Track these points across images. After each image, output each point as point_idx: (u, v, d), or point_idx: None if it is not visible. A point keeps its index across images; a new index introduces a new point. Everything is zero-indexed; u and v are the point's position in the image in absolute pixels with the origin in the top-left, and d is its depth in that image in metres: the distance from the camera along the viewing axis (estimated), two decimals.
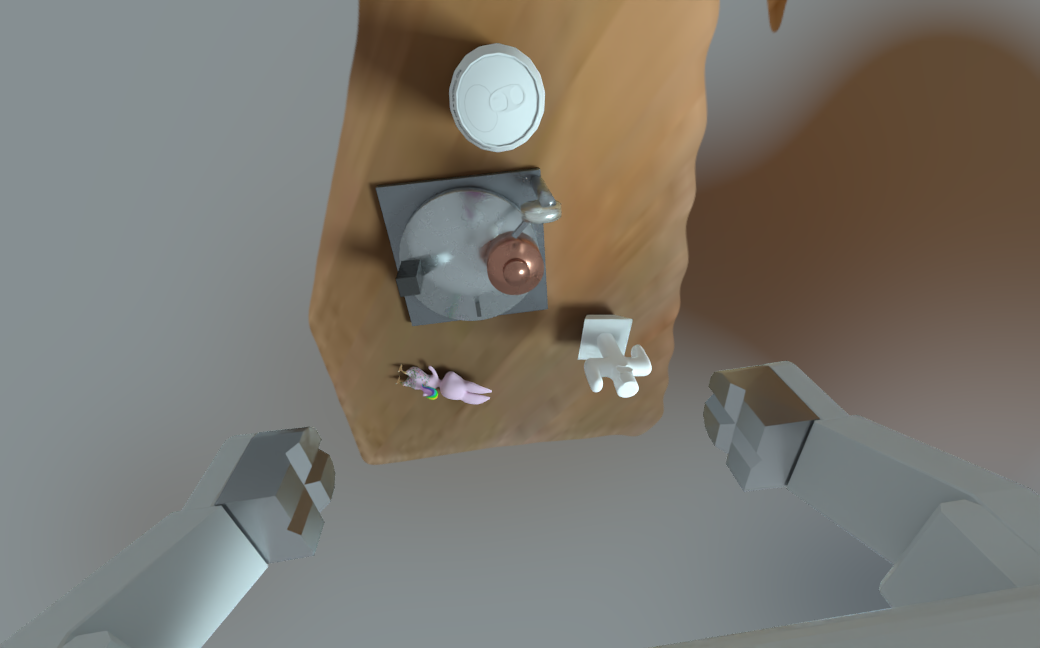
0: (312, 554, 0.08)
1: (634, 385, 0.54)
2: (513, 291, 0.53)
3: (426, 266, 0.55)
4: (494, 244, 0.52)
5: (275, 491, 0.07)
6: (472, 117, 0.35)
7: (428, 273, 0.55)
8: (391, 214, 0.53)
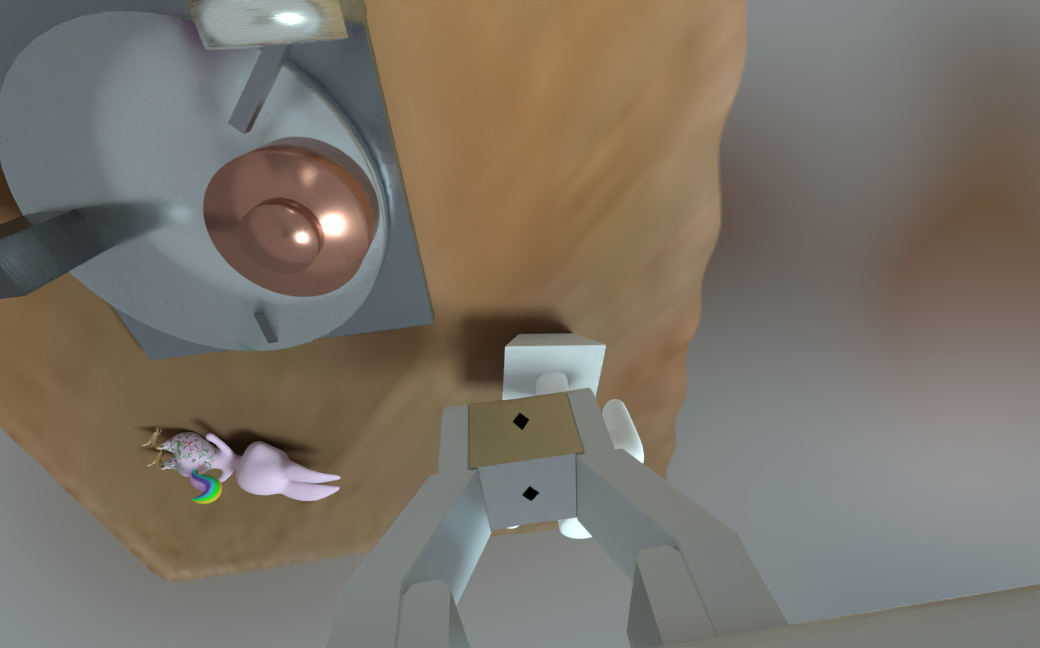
0: (532, 522, 0.08)
1: None
2: (298, 288, 0.21)
3: (101, 228, 0.23)
4: None
5: (524, 456, 0.07)
6: None
7: (114, 246, 0.23)
8: None
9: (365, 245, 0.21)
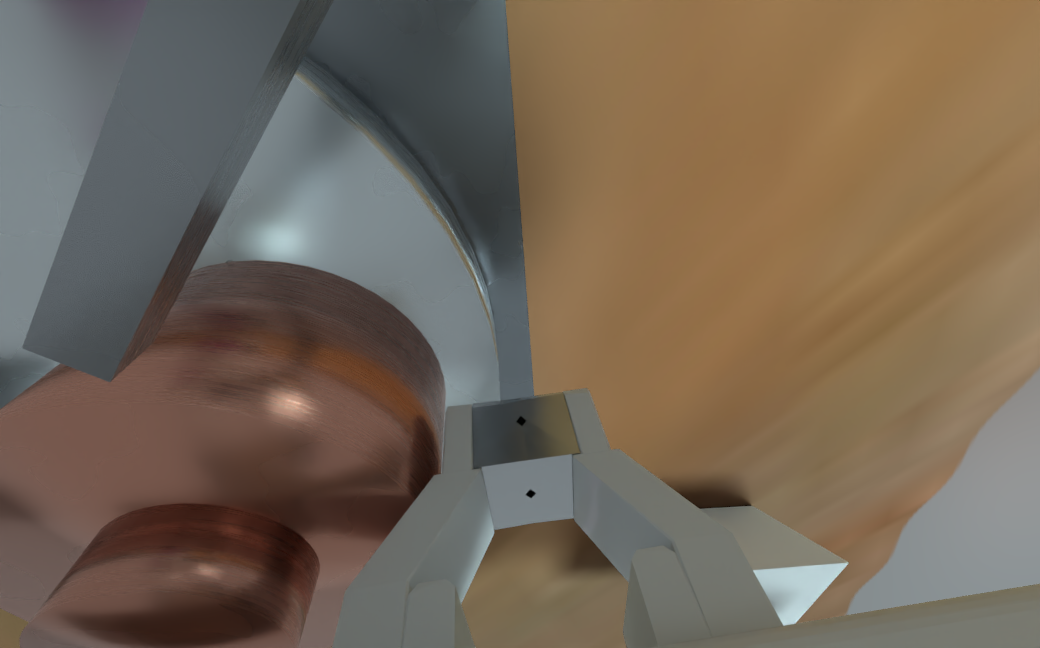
0: (536, 521, 0.08)
1: None
2: None
3: None
4: None
5: (528, 455, 0.07)
6: None
7: None
8: None
9: None
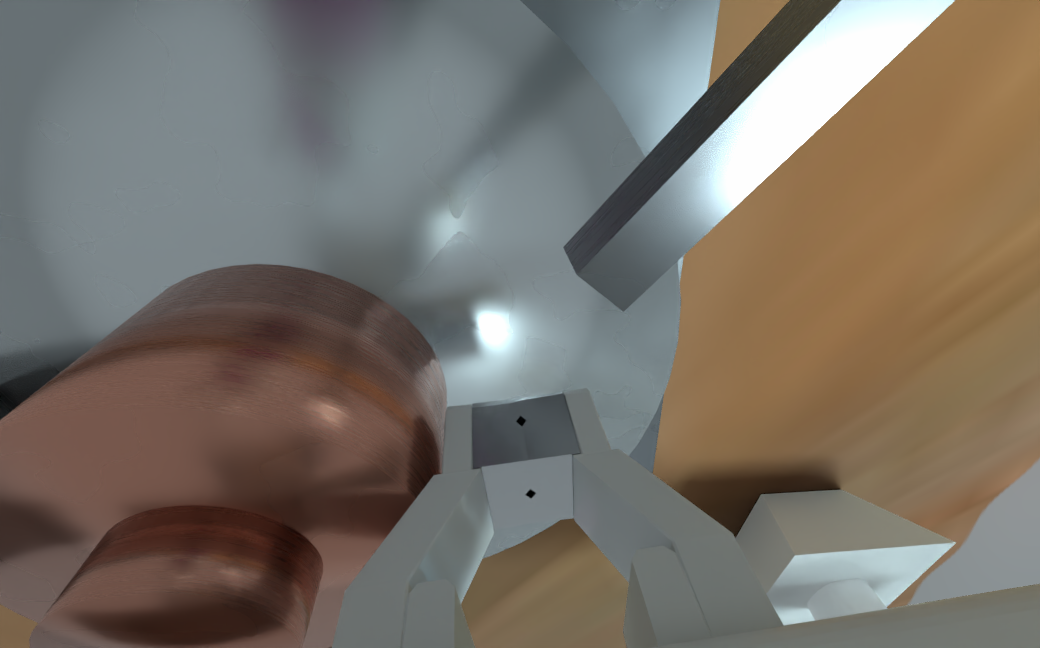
0: (536, 521, 0.08)
1: None
2: None
3: None
4: None
5: (528, 455, 0.07)
6: None
7: None
8: None
9: None
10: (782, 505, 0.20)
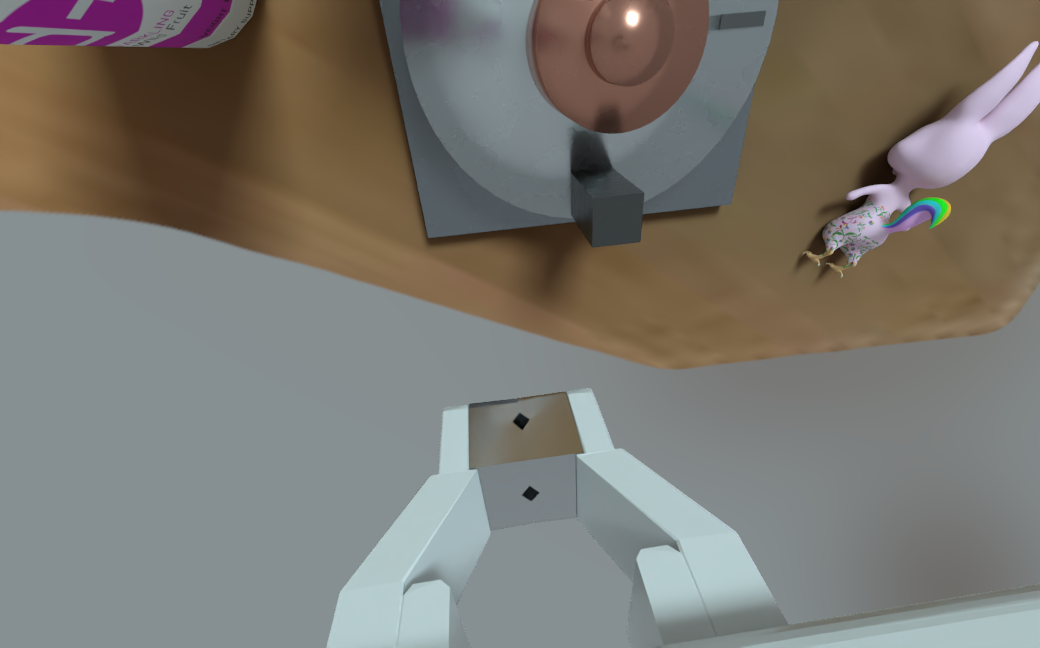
0: (532, 521, 0.08)
1: None
2: (693, 48, 0.17)
3: (591, 158, 0.23)
4: (550, 103, 0.20)
5: (524, 456, 0.07)
6: None
7: (609, 155, 0.23)
8: (479, 216, 0.27)
9: None
10: None
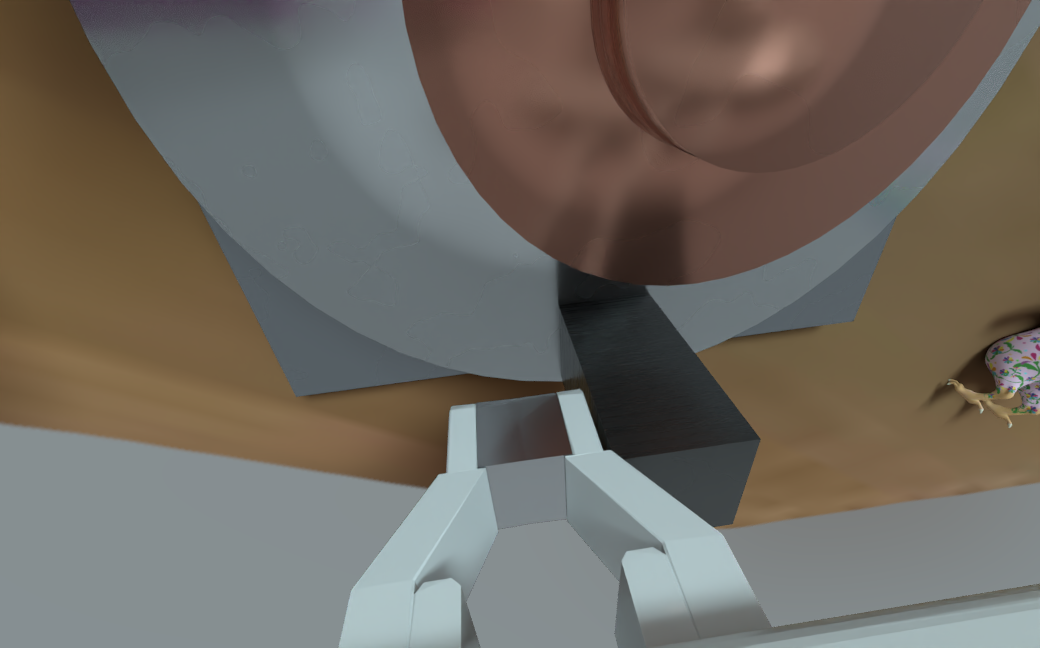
0: (540, 520, 0.08)
1: None
2: (981, 21, 0.05)
3: None
4: None
5: (532, 455, 0.07)
6: None
7: None
8: (388, 359, 0.14)
9: None
10: None
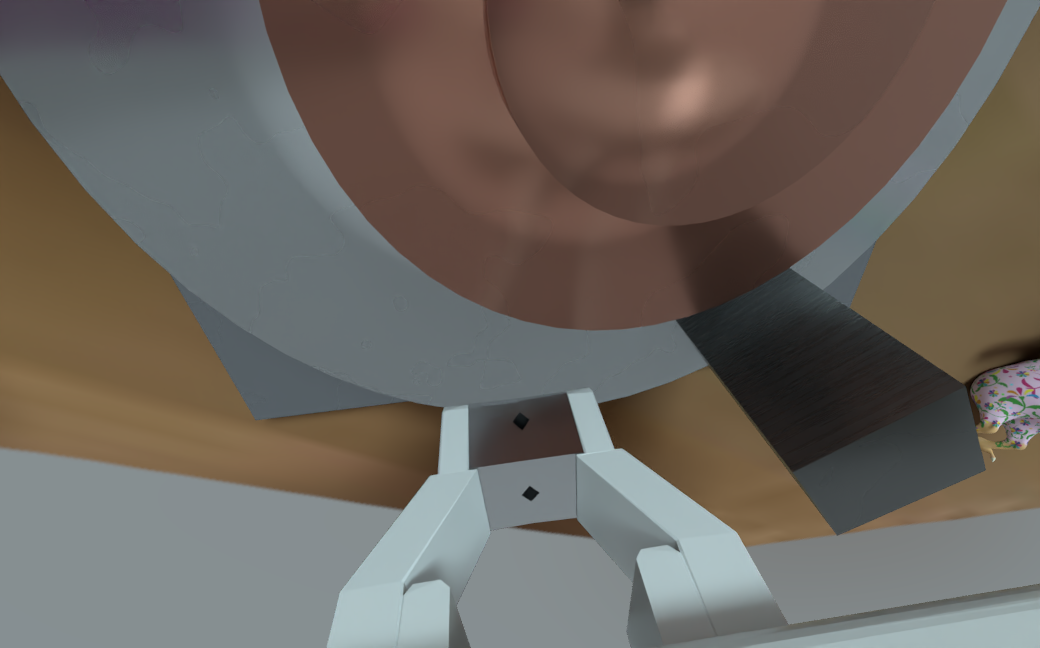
0: (532, 521, 0.08)
1: None
2: None
3: None
4: None
5: (524, 456, 0.07)
6: None
7: None
8: (349, 383, 0.14)
9: None
10: None
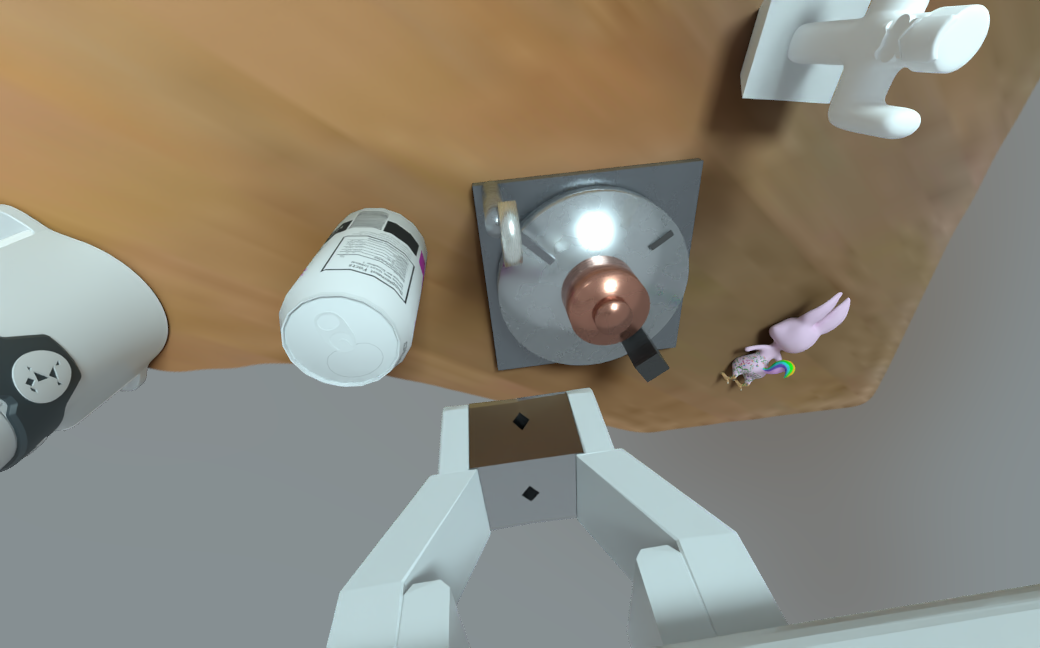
0: (532, 521, 0.08)
1: (956, 22, 0.20)
2: (642, 295, 0.36)
3: None
4: None
5: (524, 456, 0.07)
6: (367, 369, 0.28)
7: None
8: (528, 358, 0.46)
9: (599, 278, 0.35)
10: (743, 69, 0.33)
